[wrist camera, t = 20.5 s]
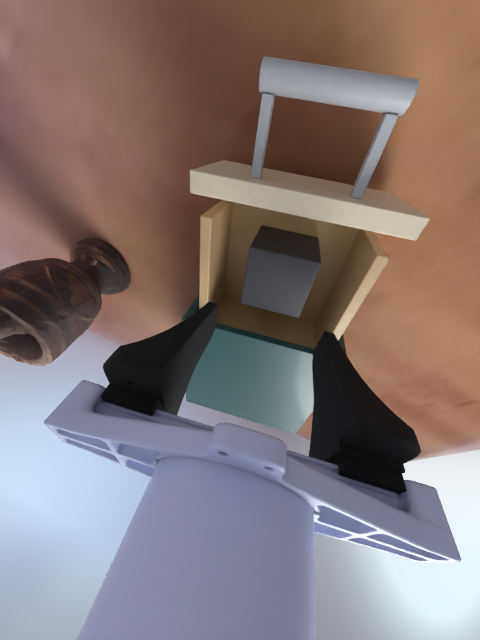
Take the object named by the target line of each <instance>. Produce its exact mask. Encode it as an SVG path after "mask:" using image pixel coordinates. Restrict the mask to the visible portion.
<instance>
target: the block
mask: <svg viewBox="0 0 480 640" xmlns="http://www.w3.org/2000/svg"><path fill="white" fill-rule="evenodd" d="M320 266H321V256H320V245H319V238H318V237H313V236H309V235H304V234H300V233H295V232H291V231H286V230H282V229H277V228H272V227H268V226H263V225H261V227H260V229H259V230H258V232H257V234H256V236H255V238H254V240H253V242H252V244H251V246H250V248H249V254H248V260H247V266H246V272H245V278H244V284H243V290H242V296H241V302H240V303H241V304H245V305H249V306H253V307H257V308H261V309H264V310H268V311H272V312H276V313H280V314H284V315H288V316H292V317H296V318H299V316H300V314H301V312H302V309H303V307H304V304H305V302H306V299H307V297H308V295H309V292H310V290H311V287H312V285H313V282H314V280H315V278H316V275H317V273H318V270H319V268H320Z"/></svg>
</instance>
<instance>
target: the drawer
mask: <svg viewBox="0 0 480 640" xmlns="http://www.w3.org/2000/svg"><path fill="white" fill-rule="evenodd" d="M418 85H419V79H416V78H409V77H402V76H395V75H389V74H382V73H375V72H368V71H362V70H355V69H348V68H341V67H335V66H328V65H321V64H314V63H308V62H301V61H294V60H287V59H281V58H274V57H267V56H264V57H263V59H262V63H261V67H260V74H259V92H260V93H263V94H262V99H261V106H260V113H259V120H258V127H257V134H256V142H255V149H254V156H253V163H252V165H247V164H242V163H237V162H231V161H226V160H222V161H219V162H215V163H212V164H209V165H205V166H202V167H198V168H195V169H191V170H190V193H193V194H197V195H202V196H207V197H212V198H216V199H221V201H220V202H218V203H217V204H216V205H214V206H213V207H212V208H210V209H209V210H208V211H206V212H205V213H204V214H202V215H201V216H200V285H199V309H200V308H202V307H203V306H204V305H205V304H206V303H208V302H209V301H211V302H214V303H218V312H217V323H219V324H223V325H227V326H230V327H234V328H238V329H242V330H245V331H249V332H253V333H257V334H261V335H264V336H268V337H272V338H276V339H279V340H283V341H287V342H291V343H295V344H298V345H302V346H306V347H310V348H313V349H315V347H316V346H317V344H318V342H319V340H320V338H321V336H322V334H323V333H324V331H327V332H331V333H334V334H335V336H336V338H337V340H339V339H340V337H341V336H342V334H343V332H344V331H345V329H346V328H347V326H348V324H349V323H350V321H351V320H352V318H353V316H354V315H355V313H356V312H357V310H358V308H359V307H360V305H361V304H362V302H363V300H364V299H365V297H366V296H367V294H368V293H369V291H370V289H371V288H372V286H373V285H374V283H375V281H376V280H377V278H378V277H379V275H380V273H381V272H382V270H383V269H384V267H385V265H386V264H387V262H388V261H389V259H390V257H389V255H388V254H387V252H386V251H385V249H384V248H383V246H382V245H381V243H380V242H379V240H378V239H377V237H376V236H375V234H374V233H373V232H377V233H381V234H386V235H391V236H396V237H400V238H405V239H410V240H416V239H417V238H418V236H419V235H420V233H421V232H422V230H423V229H424V227H425V226H426V224H427V223H428V221H429V220H430V218H429V217H427V216H426V215H425V214H423V213H422V212H420V211H419V210H417V209H416V208H414V207H413V206H411V205H410V204H408V203H407V202H406V201H404V200H403V199H401V198H400V197H398V196H397V195H395V194H394V193H391V192H385V191H380V190H375V189H370V188H367V185H368V183H369V181H370V179H371V176H372V174H373V172H374V170H375V167H376V165H377V163H378V161H379V159H380V156H381V154H382V152H383V150H384V147H385V145H386V143H387V141H388V138H389V136H390V134H391V132H392V130H393V127H394V125H395V123H396V121H397V118H398V115H399V116H401V115H403V114H404V113H405V112H406V110H407V109H408V107H409V106H410V104H411V102H412V100H413V98H414V96H415V94H416V91H417V88H418ZM274 95H277V96H283V97H289V98H295V99H301V100H307V101H313V102H319V103H326V104H332V105H338V106H344V107H350V108H356V109H362V110H368V111H374V112H381V113H386V114H384V115H383V116H382V119H381V121H380V123H379V126H378V128H377V131H376V133H375V135H374V138H373V140H372V143H371V145H370V148H369V150H368V152H367V155H366V157H365V160H364V162H363V165H362V167H361V169H360V172H359V174H358V177H357V179H356V181H355V184H354V185H350V184H344V183H339V182H334V181H329V180H324V179H319V178H314V177H308V176H303V175H298V174H293V173H288V172H283V171H278V170H272V169H267V168H263V165H264V159H265V153H266V147H267V142H268V136H269V130H270V124H271V118H272V112H273V106H274V100H275V96H274ZM261 225H263V226H268V227H272V228H277V229H282V230H286V231H291V232H295V233H300V234H304V235H309V236H313V237H318V238H319V245H320V256H321V266H320V268H319V270H318V273H317V275H316V278H315V280H314V282H313V285H312V287H311V290H310V292H309V295H308V297H307V299H306V302H305V304H304V307H303V309H302V312H301V314H300V316H299V318H296V317H292V316H288V315H284V314H280V313H276V312H272V311H268V310H264V309H261V308H257V307H253V306H249V305H245V304H241V303H240V302H241V296H242V290H243V284H244V278H245V272H246V266H247V260H248V254H249V248H250V246H251V244H252V242H253V240H254V238H255V236H256V234H257V232H258V230H259V229H260V227H261Z"/></svg>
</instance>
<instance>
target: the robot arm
mask: <svg viewBox="0 0 480 640" xmlns="http://www.w3.org/2000/svg"><path fill="white" fill-rule="evenodd" d="M217 312H218V303H214V302H211V301H209V302H208V303H206V304H205V305H204V306H203V307H202V308H200V309H199V310H198V311H196V312H195V313H194V314H192V315H191V316H190V317H188V318H187V319H185V320H184V321H182V322H180V323H179V324H177V325H176V326H174V327H172V328H170V329H168V330H166V331H164V332H162V333H159V334H157V335H155V336H152V337H150V338H147V339H144V340H141V341H138V342H134V343H130V344H127V345H123V346H120V347H119V348H118V349H117V350H116V351H115V352H114V353H113V354H112V355H111V356H110V357H109V359H108V360H107V361H106V362H105V363H104V365H103V369H104V372H105V374H106V377H107V378H108V381H109V383H110V384H109V385H108V387H107V388H106V389H105V388H104V387H103V386H101V385H99V384H95V383H92V382H89V381H86V380H82V381H81V382H80V383H79V384H78V385H77V387H75V389H74V390H73V391H72V392H71V393H70V394H69V395H68V396H67V397H66V398H65V399H64V400H63V401H62V403H61V404H60V405H59V406H58V407H57V408H56V409H55V410H54V411H53V412H52V413H51V415H50V416H49V417H48V418H47V419H46V420H45V421H44V423H45V425H46V426H47V427H48V428H49V429H51V430H52V431H53V432H54V433H55V434H56V435H57V436H58V437H59V438H60V439H61V440H62V441H63V442H65V443H67V444H70V445H73V446H76V447H78V448H81V449H84V450H86V451H89V452H92V453H95V454H97V455H100V456H102V457H104V458H107V459H109V460H111V461H114V462H116V463H118V464H121V465H123V466H125V467H128V468H130V469H133V470H135V471H137V472H140V473H142V474H144V475H147V476H149V477H151V479H150V481H149V484H148V486H147V488H146V490H145V492H144V495H143V497H142V499H141V501H140V503H139V505H138V507H137V510H136V512H135V514H134V516H133V518H132V520H131V523H130V525H129V527H128V529H127V531H126V534H125V536H124V538H123V540H122V542H121V544H120V547H119V549H118V551H117V553H116V555H115V558H114V560H113V562H112V564H111V566H110V568H109V571H108V573H107V575H106V577H105V579H104V582H103V584H102V586H101V588H100V590H99V592H98V594H97V597H96V599H95V601H94V603H93V605H92V608H91V610H90V612H89V614H88V616H87V618H86V620H85V623H84V625H83V627H82V629H81V631H80V633H79V636H78V638H77V640H316V639H315V564H314V532H315V533H318V534H322V535H326V536H329V537H334V538H337V539H341V540H344V541H348V542H352V543H356V544H359V545H363V546H367V547H371V548H374V549H378V550H381V551H384V552H388V553H391V554H394V555H398V556H401V557H404V558H407V559H410V560H413V561H416V562H419V563H426V562H460V561H461V558H460V555H459V552H458V549H457V546H456V544H455V541H454V538H453V535H452V532H451V530H450V527H449V524H448V521H447V519H446V516H445V513H444V511H443V507H442V505H441V502H440V499H439V496H438V494H437V491H436V489H435V488H434V487H431V486H428V485H424V484H421V483H418V482H415V481H410V480H404V479H403V476H402V473H405V469H404V465H403V464H404V463H406V462H408V461H410V460H412V459H414V458H415V457H417V456H418V455H419V454H420V452H421V450H420V446H419V443H418V440H417V437H416V435H415V432H414V430H413V429H412V428H411V427H410V426H408V425H407V424H406V423H405V422H404V421H402V420H401V419H400V418H399V417H398V416H397V415H395V414H394V413H393V412H392V411H391V410H390V409H389V408H388V407H387V406H386V405H385V404H384V403H383V402H382V401H381V400H380V399H379V398H378V397H377V396H376V395H375V394H374V392H373V391H372V390H371V389H370V388H369V387H368V386H367V384H366V383H365V382H364V380H363V379H362V378H361V377H360V375H359V374H358V373H357V371H356V370H355V368H354V367H353V365H352V364H351V362H350V361H349V359H348V357H347V356H346V354H345V352H344V350H343V349H342V347H341V345H340V343H339V341H338V340H337V338H336V336H335V334H334V333H331V332H327V331H324V333H323V334H322V336H321V338H320V340H319V342H318V344H317V346H316V347H315V349H314V351H313V360H312V373H313V391H314V406H313V421H312V433H311V443H310V451H309V456H305V455H302V454H299V453H296V452H292V451H289V450H287V445H286V444H285V443H284V442H282V440H280V439H278V438H276V437H274V436H270V435H267V434H264V433H261V432H258V431H254V430H251V429H247V428H244V427H241V426H238V425H234V424H230V423H219V424H217V425H216V426H215V427H212V426H209V425H205V424H202V423H199V422H195V421H192V420H189V419H186V418H182V417H179V416H177V413H178V410H179V407H180V405H181V402H182V400H183V397H184V394H185V392H186V389H187V387H188V384H189V382H190V379H191V377H192V375H193V372H194V370H195V368H196V365H197V363H198V362H199V360H200V358H201V356H202V354H203V352H204V351H205V349H206V347H207V345H208V343H209V342H210V340H211V338H212V335H213V333H214V330H215V328H216V324H217Z"/></svg>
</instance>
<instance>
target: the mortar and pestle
mask: <svg viewBox="0 0 480 640" xmlns="http://www.w3.org/2000/svg"><path fill="white" fill-rule="evenodd" d="M129 284H130V273H129V271H128V268H127V266H126V265H125V263H124V261H123V260H122V258H121V257H120V255H119V254H118V253H117V252H116V251H115V250H114V249H113V248H112V247H110V246H108V245H107V244H106V243H105V242H103V241H100V240H97V239H85V240H82V241H80V242H78V243H77V244H76V245H74V246H73V248H72V249H71V251H70V263H69V262H67V261H64V260H61V259H57V258H46V259H41V260H34V261H26V262H23V263H19V264H16V265H13V266H10V267H7V268H5V269H2V270H0V353H1V354H3V355H5V356H7V357H11V358H14V359H15V360H16V361H19V362H22V363H28V364H30V365H37V366H44V365H47V364H50V363H51V362H52V361H54V360H55V359H56V358H57V357H58V356H60V355H61V354H62V353H63V352H64V351H65V350H66V349H67V347H69V346H70V345H71V344H72V343H73V342H74V341H75V340H76V339H77V338H78V337H79V336H80V335H82V334H83V333H84V332H85V331H86V330H87V329H88V328H89V326H90V325H91V323H92V322H93V320H94V319H95V317H96V316H97V314H98V312H99V311H100V309H101V305H102V299H101V294H105V295H110V294H116V293H119V292H122V291H124V290H126V289H127V288H128V286H129Z"/></svg>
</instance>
